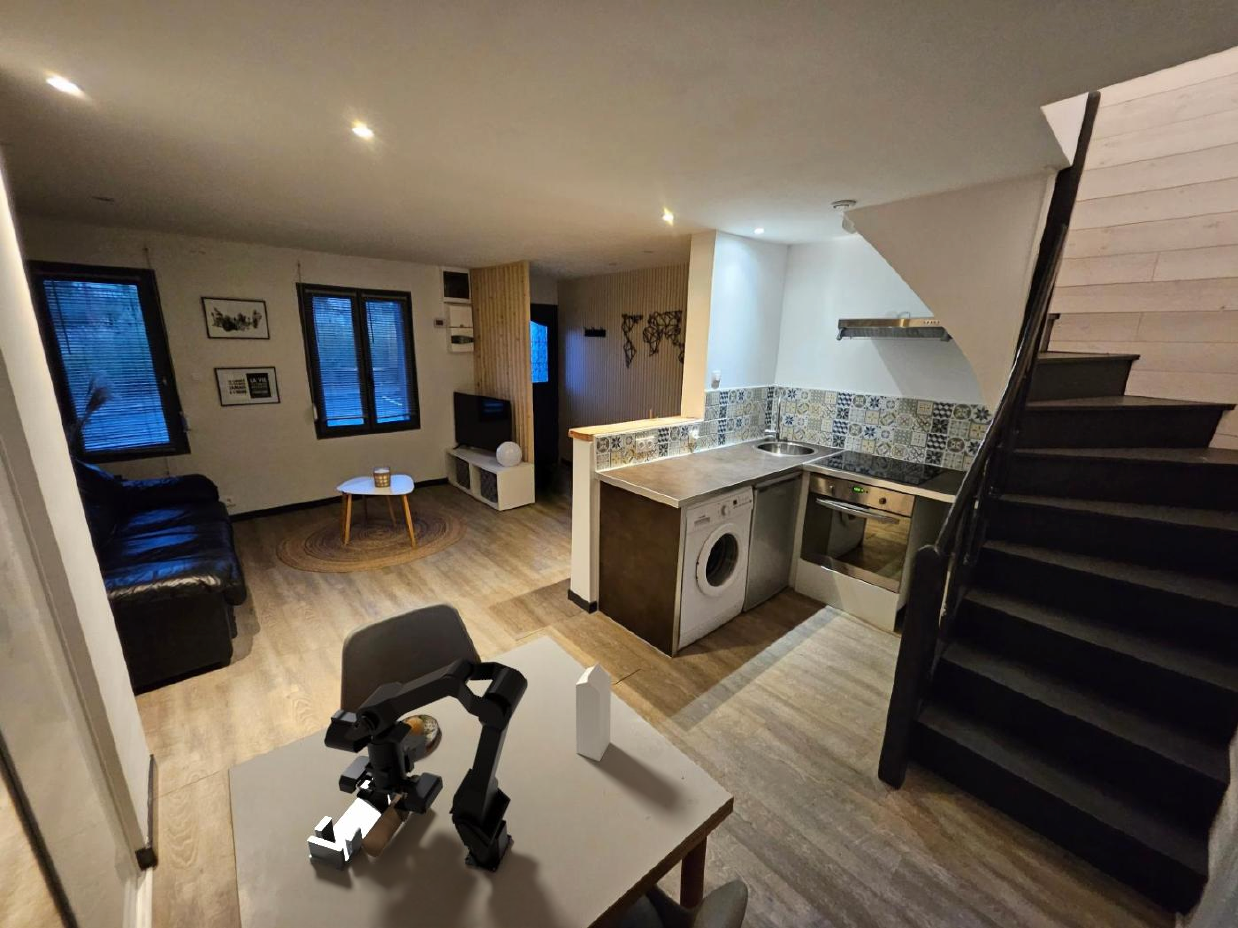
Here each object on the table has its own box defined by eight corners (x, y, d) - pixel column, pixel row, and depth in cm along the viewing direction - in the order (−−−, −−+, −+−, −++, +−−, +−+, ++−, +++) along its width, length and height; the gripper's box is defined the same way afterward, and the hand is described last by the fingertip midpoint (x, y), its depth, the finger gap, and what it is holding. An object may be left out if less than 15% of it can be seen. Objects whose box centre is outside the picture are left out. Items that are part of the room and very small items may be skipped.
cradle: (410, 782, 102) (408, 766, 100) (344, 871, 85) (340, 853, 84) (378, 774, 103) (376, 757, 102) (307, 859, 87) (303, 841, 85)
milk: (610, 742, 113) (612, 663, 107) (599, 762, 107) (600, 680, 101) (587, 733, 115) (588, 655, 109) (575, 752, 110) (575, 672, 104)
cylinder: (409, 788, 98) (408, 773, 97) (426, 794, 97) (425, 778, 96) (362, 852, 86) (360, 836, 85) (381, 859, 85) (379, 843, 84)
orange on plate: (431, 712, 121) (429, 687, 119) (446, 744, 112) (443, 718, 110) (380, 734, 114) (376, 709, 112) (391, 770, 105) (387, 743, 103)
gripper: (456, 728, 93) (462, 791, 97) (375, 709, 97) (384, 769, 101) (419, 778, 82) (428, 846, 86) (330, 754, 87) (343, 819, 91)
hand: (395, 816), depth 91 cm, fingers closed on cylinder, 4 cm apart
